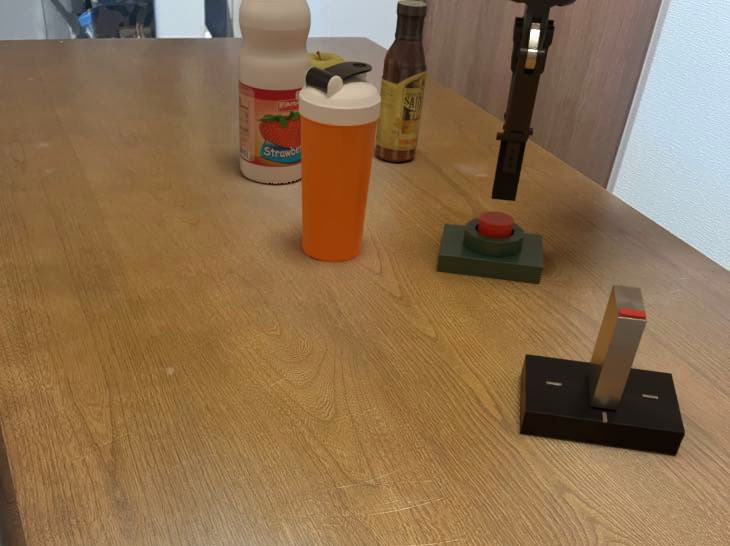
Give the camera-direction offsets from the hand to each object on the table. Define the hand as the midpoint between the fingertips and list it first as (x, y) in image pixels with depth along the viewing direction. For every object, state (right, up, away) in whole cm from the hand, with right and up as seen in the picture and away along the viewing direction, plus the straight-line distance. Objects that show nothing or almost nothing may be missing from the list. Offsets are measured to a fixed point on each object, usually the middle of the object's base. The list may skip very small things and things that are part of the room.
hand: (503, 197), depth 100 cm
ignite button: (-1, -3, +3) cm, 4 cm away
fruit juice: (-28, +12, +23) cm, 38 cm away
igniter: (-1, -6, +5) cm, 8 cm away
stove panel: (+5, -27, -17) cm, 33 cm away
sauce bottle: (-10, +18, +30) cm, 36 cm away
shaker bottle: (-20, -4, +6) cm, 21 cm away
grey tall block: (+5, -25, -19) cm, 32 cm away
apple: (-21, +33, +46) cm, 61 cm away
